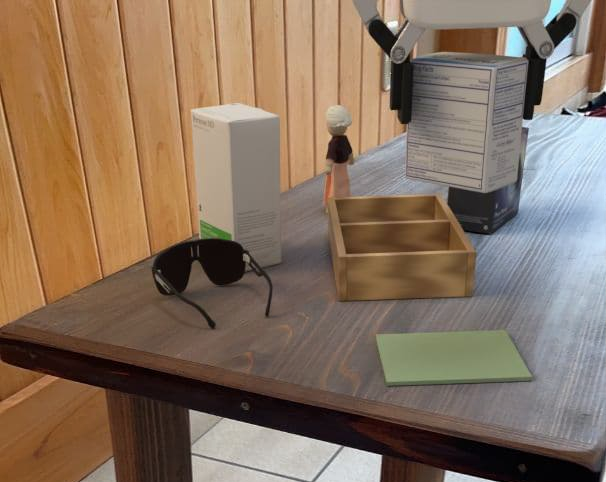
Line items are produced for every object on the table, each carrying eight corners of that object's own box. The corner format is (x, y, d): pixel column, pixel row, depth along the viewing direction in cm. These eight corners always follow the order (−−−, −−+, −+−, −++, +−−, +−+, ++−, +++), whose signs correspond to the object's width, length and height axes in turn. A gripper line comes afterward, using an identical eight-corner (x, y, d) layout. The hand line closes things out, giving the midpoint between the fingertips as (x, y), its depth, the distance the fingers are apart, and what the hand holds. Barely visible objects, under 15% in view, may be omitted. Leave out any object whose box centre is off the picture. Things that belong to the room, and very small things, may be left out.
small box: (493, 236, 103) (503, 141, 96) (442, 229, 105) (449, 137, 99) (521, 213, 110) (532, 124, 104) (473, 208, 113) (481, 121, 106)
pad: (505, 333, 78) (505, 329, 78) (531, 381, 70) (532, 376, 70) (375, 338, 78) (375, 334, 78) (386, 386, 70) (387, 381, 70)
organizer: (438, 231, 104) (441, 193, 102) (472, 296, 86) (476, 251, 84) (328, 235, 104) (327, 197, 102) (338, 301, 86) (338, 256, 84)
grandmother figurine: (330, 202, 117) (329, 100, 109) (358, 204, 116) (359, 100, 108) (316, 218, 111) (314, 110, 103) (344, 220, 110) (344, 111, 102)
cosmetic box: (199, 256, 99) (185, 108, 90) (247, 245, 102) (238, 101, 93) (237, 275, 93) (226, 119, 84) (287, 263, 96) (281, 111, 87)
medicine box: (518, 184, 66) (532, 57, 61) (484, 196, 64) (496, 64, 58) (436, 169, 71) (444, 50, 66) (402, 180, 68) (407, 56, 63)
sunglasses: (241, 276, 93) (240, 231, 89) (290, 325, 85) (291, 278, 82) (149, 294, 89) (144, 247, 86) (191, 347, 81) (188, 299, 78)
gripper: (354, -181, 51) (352, 132, 61) (642, -191, 51) (592, 124, 61) (346, -170, 57) (346, 114, 67) (604, -179, 57) (564, 106, 68)
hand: (463, 118), depth 64 cm, fingers closed on medicine box, 8 cm apart
